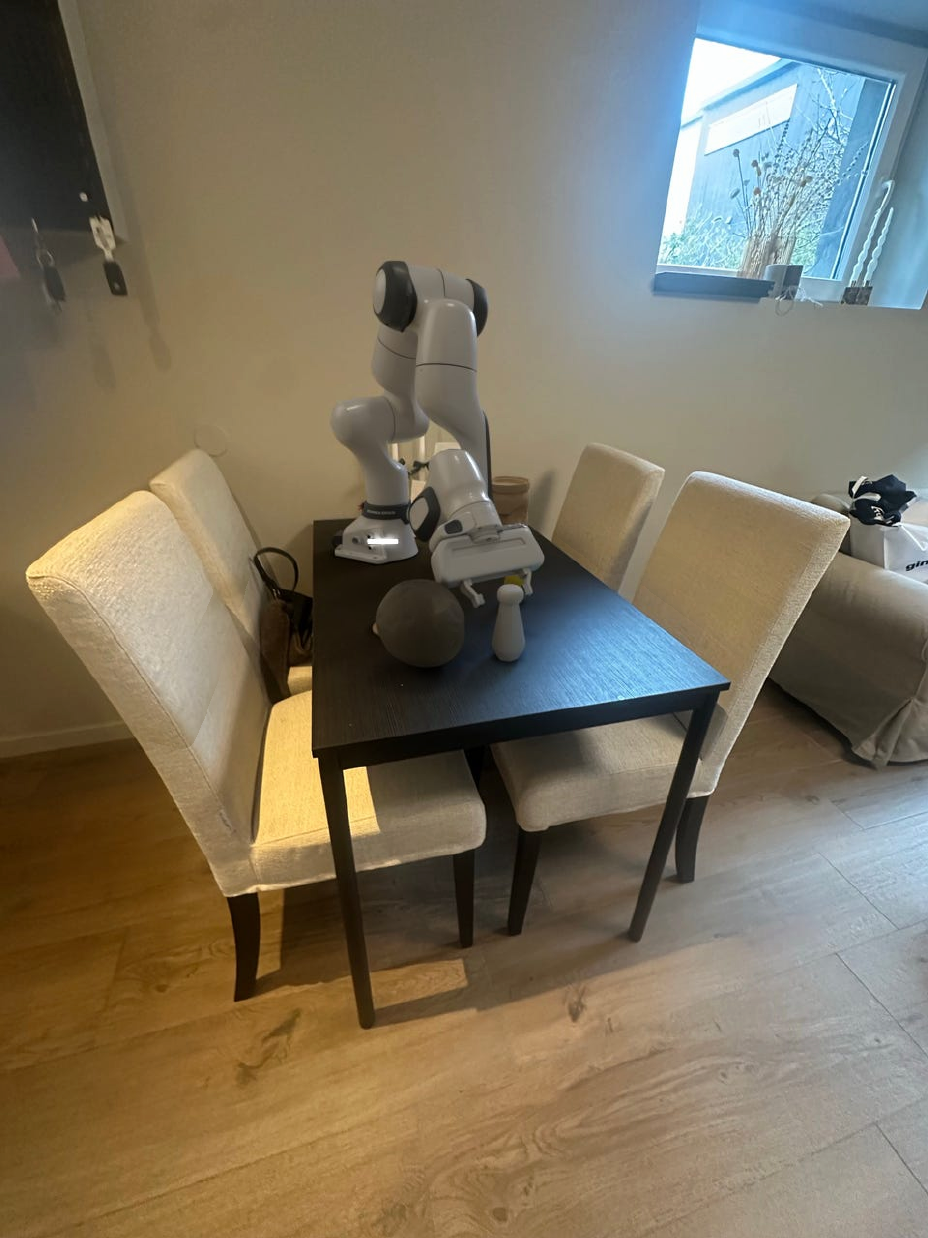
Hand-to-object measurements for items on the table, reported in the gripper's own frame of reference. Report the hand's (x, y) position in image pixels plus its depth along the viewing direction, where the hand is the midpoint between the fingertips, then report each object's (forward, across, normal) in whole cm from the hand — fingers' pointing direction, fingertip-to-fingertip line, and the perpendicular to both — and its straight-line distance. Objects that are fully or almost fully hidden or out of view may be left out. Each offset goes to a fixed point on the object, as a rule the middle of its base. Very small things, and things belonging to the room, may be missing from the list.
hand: (504, 600), depth 84 cm
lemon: (-4, -13, -18) cm, 23 cm away
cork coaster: (-5, +14, -19) cm, 24 cm away
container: (-29, -31, -42) cm, 60 cm away
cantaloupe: (+6, +14, -8) cm, 18 cm away
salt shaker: (+8, 0, -6) cm, 10 cm away
